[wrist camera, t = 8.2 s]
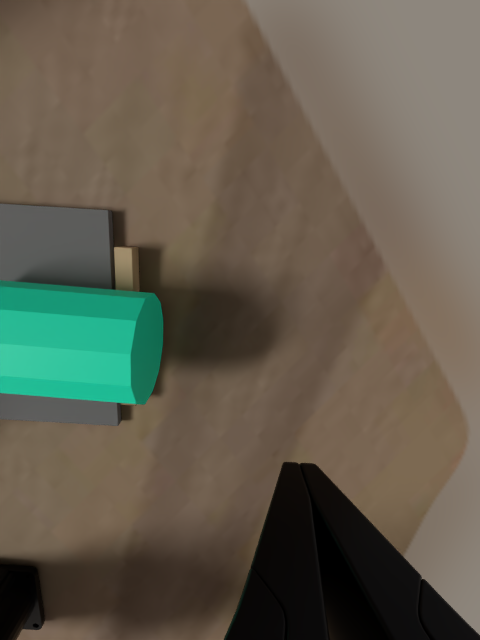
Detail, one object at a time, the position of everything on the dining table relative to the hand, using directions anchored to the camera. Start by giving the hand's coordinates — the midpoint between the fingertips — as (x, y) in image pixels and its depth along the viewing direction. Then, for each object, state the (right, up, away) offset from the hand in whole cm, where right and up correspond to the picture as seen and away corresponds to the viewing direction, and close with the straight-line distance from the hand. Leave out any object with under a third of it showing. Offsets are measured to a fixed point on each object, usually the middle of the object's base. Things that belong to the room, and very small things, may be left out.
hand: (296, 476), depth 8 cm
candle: (-6, +3, +9) cm, 11 cm away
